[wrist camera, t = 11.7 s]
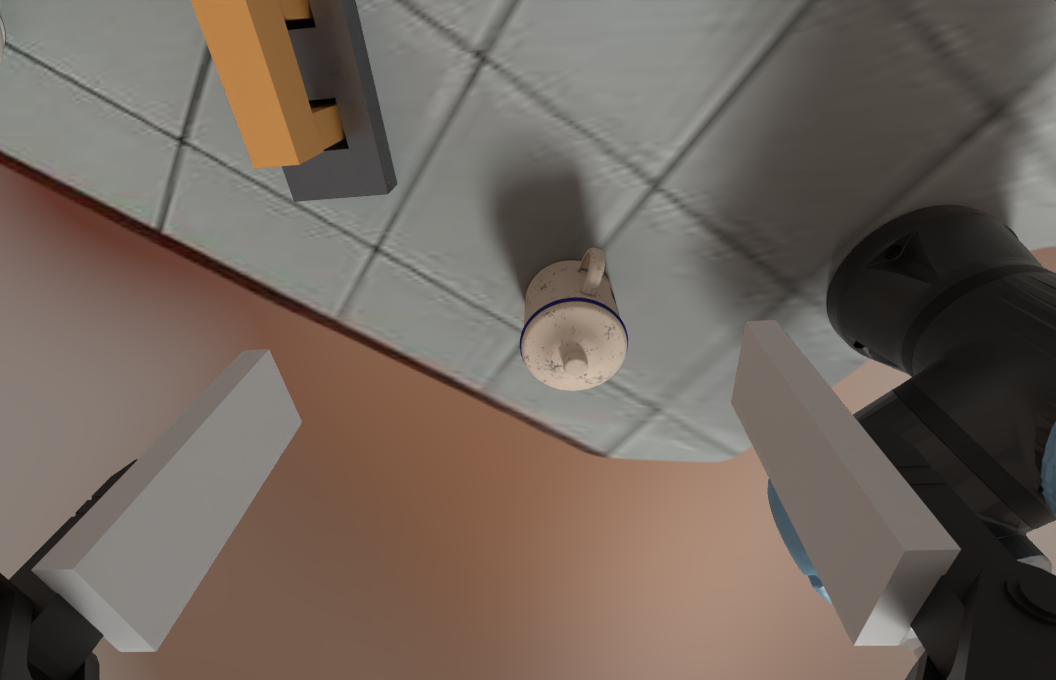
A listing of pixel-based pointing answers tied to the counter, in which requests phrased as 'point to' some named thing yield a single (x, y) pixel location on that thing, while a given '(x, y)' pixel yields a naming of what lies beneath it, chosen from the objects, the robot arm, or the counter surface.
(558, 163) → the counter surface
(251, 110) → the orange clip
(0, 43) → the lidded jar
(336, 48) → the graphite rail
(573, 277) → the teacup with lid
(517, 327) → the counter surface
